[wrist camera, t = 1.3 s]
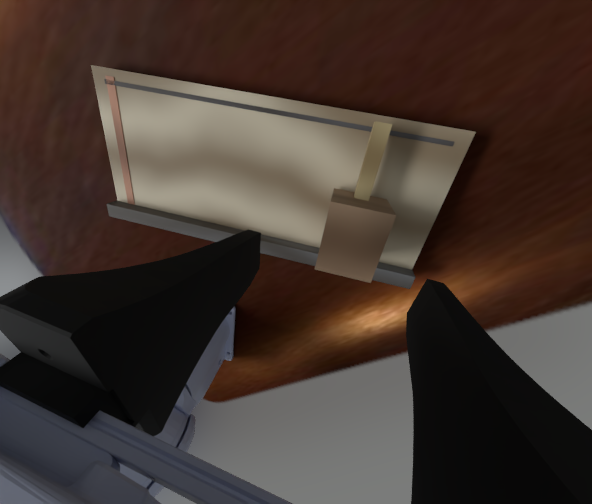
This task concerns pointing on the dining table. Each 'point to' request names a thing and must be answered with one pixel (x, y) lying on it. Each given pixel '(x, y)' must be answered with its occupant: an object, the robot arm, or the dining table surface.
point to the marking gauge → (358, 219)
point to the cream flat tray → (266, 166)
